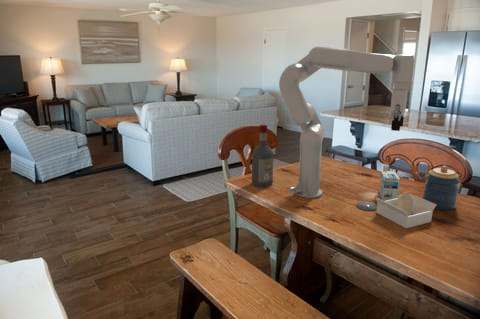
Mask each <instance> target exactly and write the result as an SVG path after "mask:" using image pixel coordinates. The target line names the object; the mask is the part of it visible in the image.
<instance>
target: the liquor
mask: <svg viewBox="0 0 480 319" xmlns="http://www.w3.org/2000/svg"><path fill="white" fill-rule="evenodd" d="M267 132H268V125H267V124H259V143H258V145H257V146H256V147H255V148H254V149H253V151H252V154H251V155H252V156H251V168H252V169H251V183H252V185H254V186H256V187H257V188H267V187H270V186H272V185H273V182H274V154H275V153H274V151H273V150H272V148H271V147H270V146H269V145H268V141H267V138H268V137H267V135H268V133H267Z"/></svg>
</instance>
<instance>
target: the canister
mask: <svg viewBox="0 0 480 319" xmlns="http://www.w3.org/2000/svg"><path fill="white" fill-rule="evenodd" d="M459 177H460V175H459V174H458V173H456V171H455V170H452V169H449V168H448V166H447V165H442V166H441V167H437V168H436V167H434V168H432V169H431V170H429V171H428V174H426V175H425V179H426V180H425V183H424V189H423V194H422V197H421V198H422V199H424V200H427V201H429V202H432V203H434V204H436V207H435V208H434V209H435V210H441V211H451V210H454V209H455V208H456V206H457V201H458V200H457V198H458V193H459V190H460V188H459V184H460V183H461V180H460V179H459Z"/></svg>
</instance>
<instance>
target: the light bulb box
mask: <svg viewBox="0 0 480 319" xmlns="http://www.w3.org/2000/svg"><path fill="white" fill-rule="evenodd" d="M400 182H401V177H399V175H398V174H397V172H396V171H390V170H380V178H379V187H378V193H379V195H380V199H381V200H383V201H386V200H391V199H396V198H398V196H399V193H400V192H399V191H400V184H401V183H400Z"/></svg>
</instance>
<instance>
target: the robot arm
mask: <svg viewBox="0 0 480 319" xmlns="http://www.w3.org/2000/svg"><path fill="white" fill-rule="evenodd" d="M414 63H415V55H413V54H411V53H410V54H409V53H408V54H407V53H406V54H404V53H403V54H386V53H383V54H382V53H372V52H362V51H358V50H353V49H349V48H337V47H326V46H315V47H313V48H311V49H310V50H309V52H308V54H307V55H305V56H304V57H302V58H301V59H300V60H299V61H297V62H295V63H292V64H289V65H288V66H287V67H285V69H284V70H283V72H282V73H281V74H280V77H279V80H278V81H279V82H278V85H279V87H278V88H279V92H280V94H281V97H282V99H283V101H284V103H285V106H286V109H287V110H288V112H289V115H290V117H291V120H292V122H293V123H294V124H295V125H296V126H298V127H300V129H301V131H302V132H301V133H300V137H299V168H298V169H299V170H298V172H299V173H298V183H296V185H295V186H291V187H289V192H291V193H292V192H294V194H295V195H297V196H298V197H302V198H306V199H316V198H320V197H321V196H323V190H322V189H320V184H321V183H320V181H321V180H320V179H321V165H322V164H321V163H322V145H323V144H322V143H323V139H324V138H325V130H324V127H323V124H322V122H321V120H320V118H319V114H318V113H317V110H316V109H315V107H314V106H313V105H312V104H311V103H308V102H307V100H306V99H305V96H304V94H303V92H302V90H301V88H300V83H302V82H304V81H306V79H308V78H309V77H311V76H312V75H313V74H315V73H316V72H318V71H319V70H321V69H325V70H327V69H328V70H337V71H343V72H345V71H346V72H358V73H366V74H373V75H386V74H388V73H392V74H391V85H390V91H392V95H391V101H390V110H389V115H390V116H392V120H391V127H390V129H391V131H392V132H393V131H396V132H397V131H398V132H399V131H401V127H403V126H404V118H405V117H404V115H405V113H406V108H407V103H408V102H407V101H408V95H409V94H408V93H409V92H410V91H412V86H413V85H412V84H413V74H414V66H415V65H414ZM408 91H409V92H408Z"/></svg>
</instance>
